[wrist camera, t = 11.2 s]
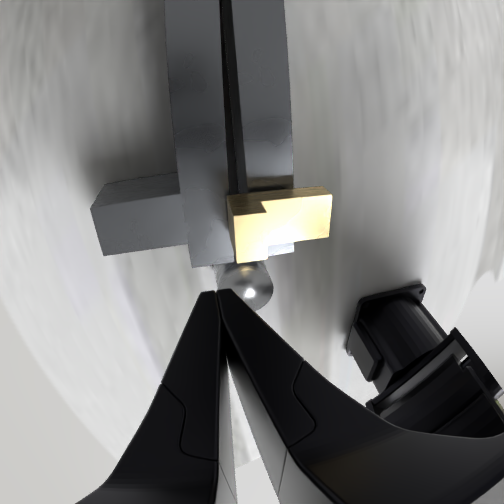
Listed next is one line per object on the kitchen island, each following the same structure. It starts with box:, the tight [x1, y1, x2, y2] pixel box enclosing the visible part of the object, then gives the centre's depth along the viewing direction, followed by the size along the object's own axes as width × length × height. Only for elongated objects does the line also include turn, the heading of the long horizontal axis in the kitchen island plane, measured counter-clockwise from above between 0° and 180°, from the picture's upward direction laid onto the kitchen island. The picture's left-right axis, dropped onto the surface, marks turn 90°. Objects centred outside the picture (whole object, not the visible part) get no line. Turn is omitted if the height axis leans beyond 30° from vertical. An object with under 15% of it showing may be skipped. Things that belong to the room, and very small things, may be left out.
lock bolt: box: [226, 186, 332, 263], centre depth 13 cm, size 4×2×2 cm, turn 92°
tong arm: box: [214, 0, 294, 311], centre depth 12 cm, size 4×21×3 cm, turn 4°
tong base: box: [90, 0, 234, 268], centre depth 11 cm, size 6×18×3 cm, turn 2°
